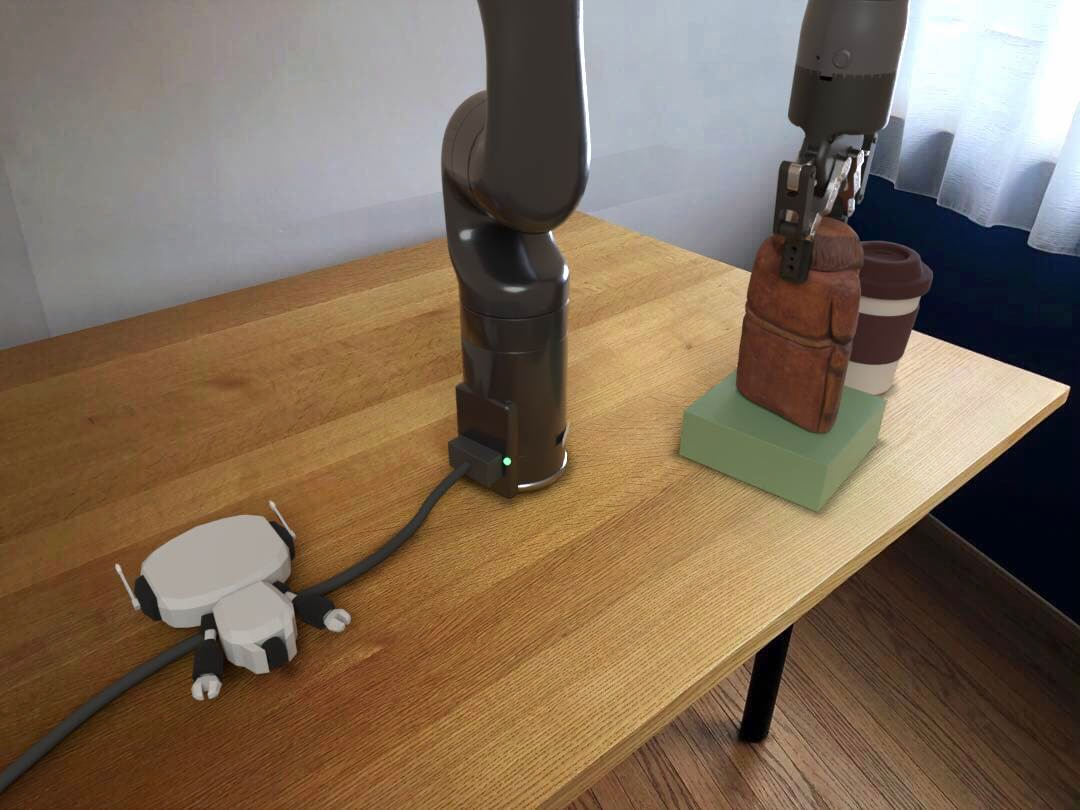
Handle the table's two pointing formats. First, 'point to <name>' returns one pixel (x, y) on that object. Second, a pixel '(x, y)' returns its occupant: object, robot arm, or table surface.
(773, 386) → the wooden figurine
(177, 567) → the robot toy
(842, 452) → the green block
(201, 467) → the table surface
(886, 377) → the coffee cup
